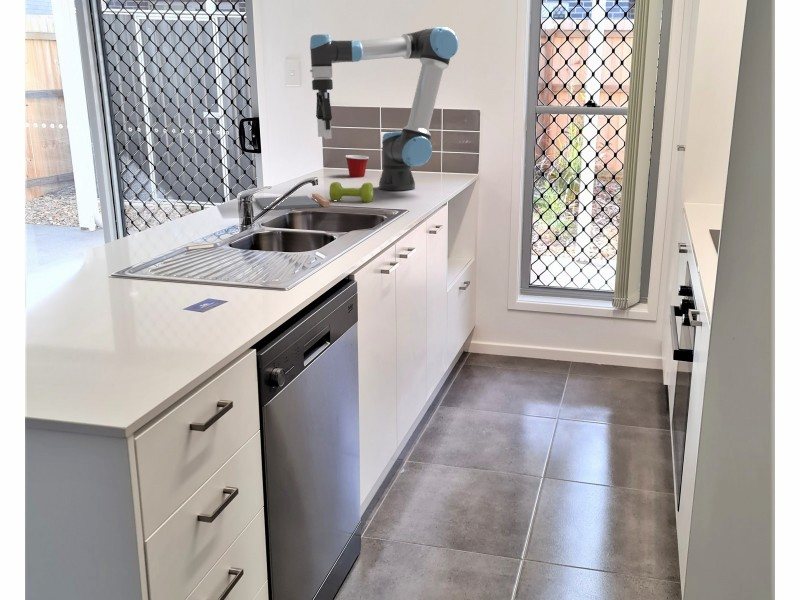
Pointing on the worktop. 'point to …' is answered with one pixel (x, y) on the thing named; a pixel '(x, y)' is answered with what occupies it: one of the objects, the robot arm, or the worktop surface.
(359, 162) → the plastic cup
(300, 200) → the board
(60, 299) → the worktop surface
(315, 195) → the strip
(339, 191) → the dumbbell
